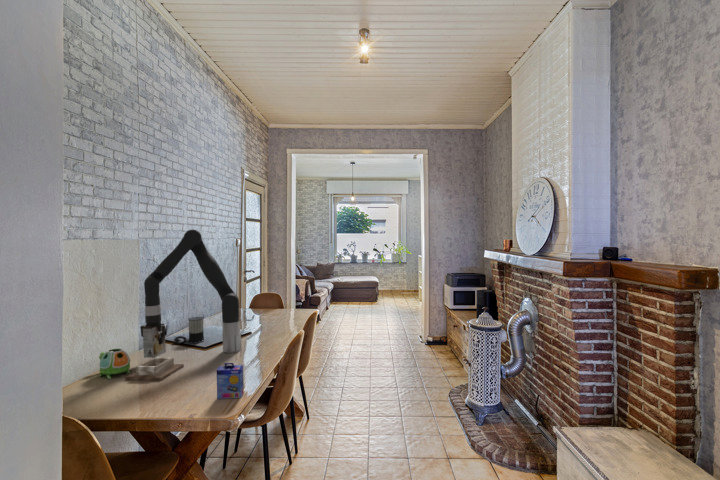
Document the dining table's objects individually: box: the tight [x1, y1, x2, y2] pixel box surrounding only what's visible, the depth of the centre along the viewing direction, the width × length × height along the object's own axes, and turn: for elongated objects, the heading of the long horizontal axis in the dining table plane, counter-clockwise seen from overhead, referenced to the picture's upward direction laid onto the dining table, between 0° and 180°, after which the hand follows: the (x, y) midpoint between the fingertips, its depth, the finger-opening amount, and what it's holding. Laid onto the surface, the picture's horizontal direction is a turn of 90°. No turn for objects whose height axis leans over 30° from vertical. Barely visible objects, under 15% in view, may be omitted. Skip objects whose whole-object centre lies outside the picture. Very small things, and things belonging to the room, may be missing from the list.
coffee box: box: [142, 323, 167, 359], centre depth 200 cm, size 9×6×16 cm
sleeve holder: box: [124, 356, 185, 382], centre depth 183 cm, size 18×18×6 cm
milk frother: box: [173, 316, 205, 345], centre depth 235 cm, size 14×16×15 cm
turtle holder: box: [98, 347, 131, 380], centre depth 183 cm, size 12×18×12 cm
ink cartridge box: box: [216, 362, 245, 400], centre depth 155 cm, size 10×6×14 cm, turn 95°
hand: (154, 344), depth 200 cm, fingers closed on coffee box, 6 cm apart
